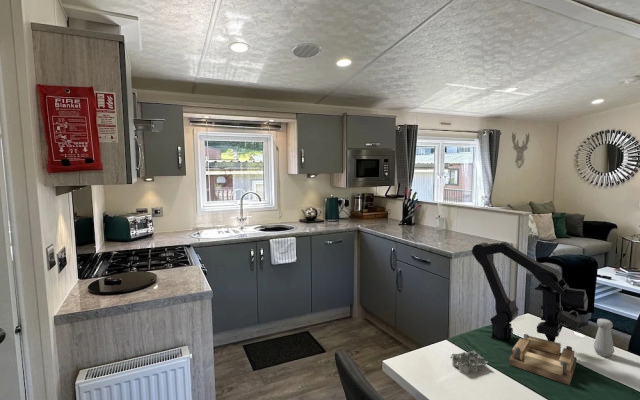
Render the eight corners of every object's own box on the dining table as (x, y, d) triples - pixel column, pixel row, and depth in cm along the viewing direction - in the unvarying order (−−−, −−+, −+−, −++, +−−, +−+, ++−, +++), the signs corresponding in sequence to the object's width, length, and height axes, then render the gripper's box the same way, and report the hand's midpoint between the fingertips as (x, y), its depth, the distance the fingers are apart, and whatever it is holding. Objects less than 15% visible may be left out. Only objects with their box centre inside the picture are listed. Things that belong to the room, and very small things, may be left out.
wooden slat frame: (508, 364, 114) (509, 348, 114) (521, 346, 127) (521, 331, 126) (569, 385, 103) (570, 367, 102) (576, 362, 115) (577, 346, 115)
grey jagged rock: (462, 375, 109) (462, 363, 109) (448, 363, 116) (448, 352, 116) (489, 370, 111) (489, 359, 111) (474, 359, 119) (474, 348, 118)
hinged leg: (522, 345, 123) (523, 336, 123) (523, 342, 125) (524, 333, 125) (560, 355, 116) (560, 345, 116) (560, 351, 118) (560, 341, 118)
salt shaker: (618, 359, 117) (619, 324, 116) (599, 358, 118) (601, 322, 117) (607, 351, 123) (608, 317, 122) (589, 349, 124) (591, 316, 123)
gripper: (575, 316, 108) (576, 363, 109) (581, 300, 121) (582, 341, 122) (535, 309, 115) (537, 352, 116) (545, 294, 129) (546, 333, 130)
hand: (552, 344), depth 121 cm, fingers closed
